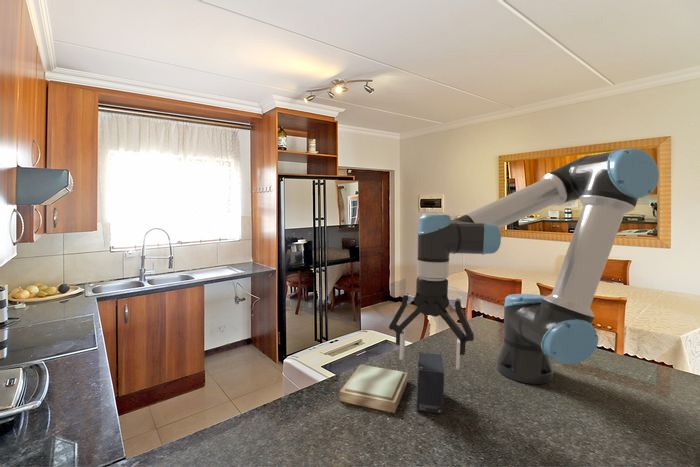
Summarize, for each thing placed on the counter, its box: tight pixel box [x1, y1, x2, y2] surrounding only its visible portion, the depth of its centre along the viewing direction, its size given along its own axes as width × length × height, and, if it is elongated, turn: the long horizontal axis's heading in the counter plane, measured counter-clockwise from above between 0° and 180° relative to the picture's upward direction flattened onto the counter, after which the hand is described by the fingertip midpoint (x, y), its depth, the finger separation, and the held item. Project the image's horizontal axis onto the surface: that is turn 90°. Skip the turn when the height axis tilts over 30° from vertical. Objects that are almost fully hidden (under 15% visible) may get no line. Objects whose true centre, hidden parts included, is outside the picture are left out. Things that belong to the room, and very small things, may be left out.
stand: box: [339, 364, 409, 414], centre depth 92 cm, size 14×16×3 cm
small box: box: [415, 351, 445, 415], centre depth 87 cm, size 11×6×10 cm, turn 168°
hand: (429, 362), depth 86 cm, fingers open, 13 cm apart
